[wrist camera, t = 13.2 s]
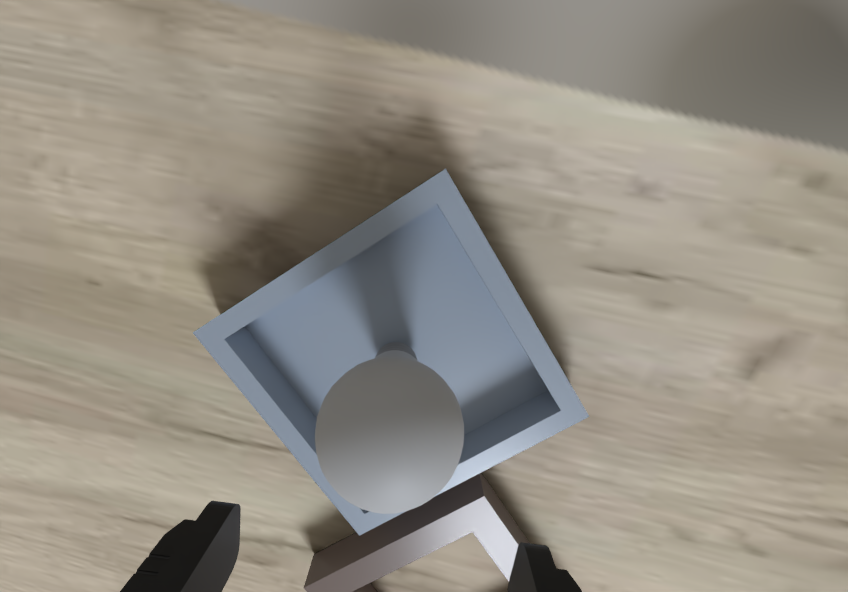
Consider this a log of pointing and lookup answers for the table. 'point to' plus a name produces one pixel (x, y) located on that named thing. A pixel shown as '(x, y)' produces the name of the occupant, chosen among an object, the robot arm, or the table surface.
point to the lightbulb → (389, 432)
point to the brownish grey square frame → (419, 539)
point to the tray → (398, 335)
